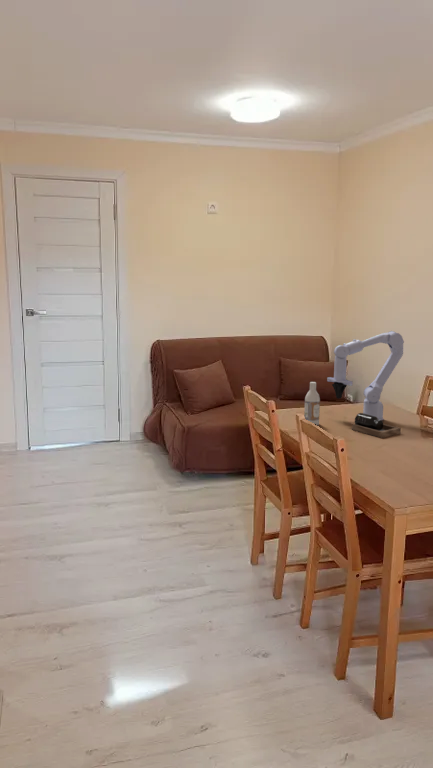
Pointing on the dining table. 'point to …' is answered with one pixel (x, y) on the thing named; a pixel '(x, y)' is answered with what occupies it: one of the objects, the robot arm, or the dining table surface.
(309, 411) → the bath foam
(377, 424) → the supplement bottle
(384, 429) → the tray
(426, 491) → the dining table surface
